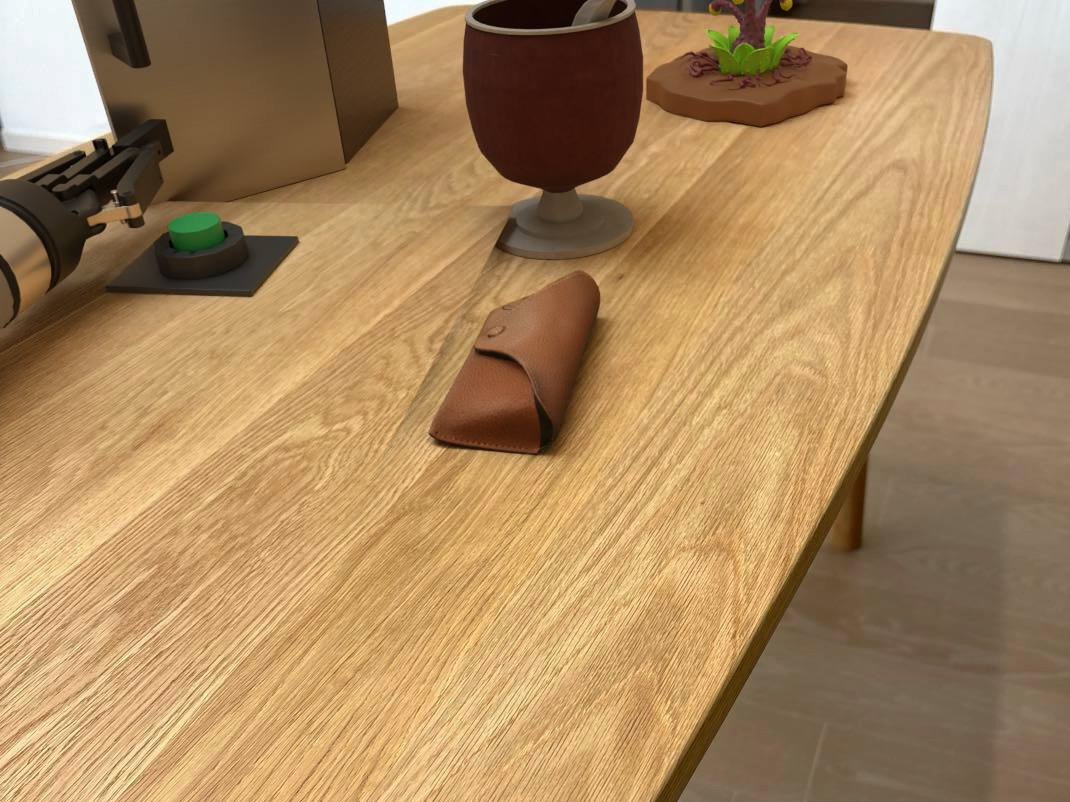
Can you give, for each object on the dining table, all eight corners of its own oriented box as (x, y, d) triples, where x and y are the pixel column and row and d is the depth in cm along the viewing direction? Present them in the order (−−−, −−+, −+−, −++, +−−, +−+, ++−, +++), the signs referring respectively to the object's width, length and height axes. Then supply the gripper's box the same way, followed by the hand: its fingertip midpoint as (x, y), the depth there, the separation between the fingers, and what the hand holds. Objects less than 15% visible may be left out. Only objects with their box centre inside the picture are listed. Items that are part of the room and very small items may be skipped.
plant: (614, 105, 115) (612, -9, 108) (715, 59, 126) (719, -47, 119) (777, 136, 105) (786, 12, 98) (871, 83, 116) (886, -32, 109)
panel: (113, 312, 83) (96, 264, 81) (171, 257, 91) (157, 212, 88) (256, 317, 81) (244, 268, 78) (303, 261, 88) (293, 214, 86)
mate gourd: (446, 232, 91) (415, -28, 79) (566, 185, 98) (555, -61, 85) (567, 285, 82) (554, 0, 69) (692, 230, 88) (699, -40, 76)
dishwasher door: (373, 184, 101) (325, -111, 86) (164, 245, 93) (70, -71, 77) (340, 165, 106) (290, -119, 90) (139, 221, 97) (46, -81, 82)
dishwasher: (346, 165, 106) (296, -122, 91) (158, 164, 110) (79, -111, 94) (399, 107, 119) (362, -150, 104) (230, 108, 123) (171, -140, 108)
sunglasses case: (487, 305, 79) (526, 231, 75) (570, 351, 80) (613, 281, 76) (422, 441, 65) (466, 360, 61) (523, 494, 66) (573, 419, 62)
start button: (164, 253, 82) (158, 231, 81) (187, 232, 85) (181, 211, 84) (212, 254, 82) (206, 232, 81) (233, 233, 85) (228, 212, 84)
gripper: (-56, 297, 77) (107, 177, 95) (106, 303, 75) (242, 179, 93) (-102, 196, 72) (79, 90, 90) (70, 198, 70) (221, 89, 88)
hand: (161, 135), depth 91 cm, fingers closed
